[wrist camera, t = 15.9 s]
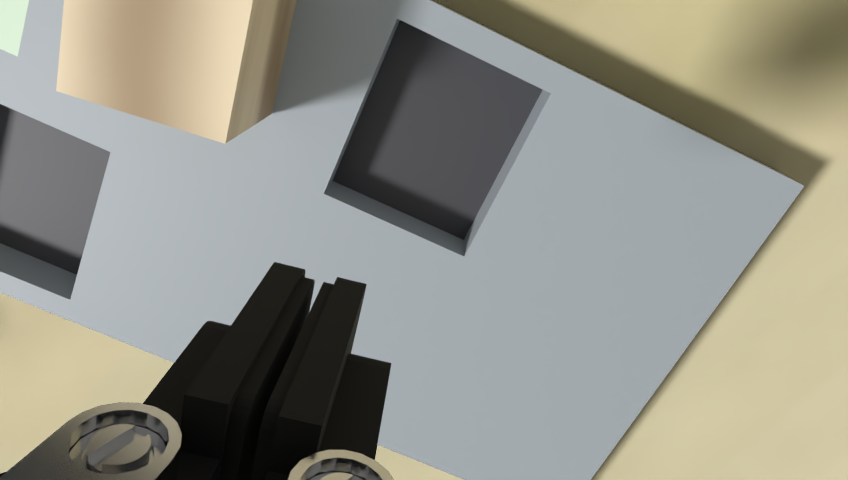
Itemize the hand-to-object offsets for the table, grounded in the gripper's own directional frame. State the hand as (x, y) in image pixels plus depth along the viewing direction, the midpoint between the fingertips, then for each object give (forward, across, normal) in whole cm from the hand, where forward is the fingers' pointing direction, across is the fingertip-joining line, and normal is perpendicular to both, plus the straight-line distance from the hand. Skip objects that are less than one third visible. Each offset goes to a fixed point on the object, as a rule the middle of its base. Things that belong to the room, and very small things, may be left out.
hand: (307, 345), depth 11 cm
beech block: (+13, +7, -3) cm, 15 cm away
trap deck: (+15, +4, +2) cm, 16 cm away
